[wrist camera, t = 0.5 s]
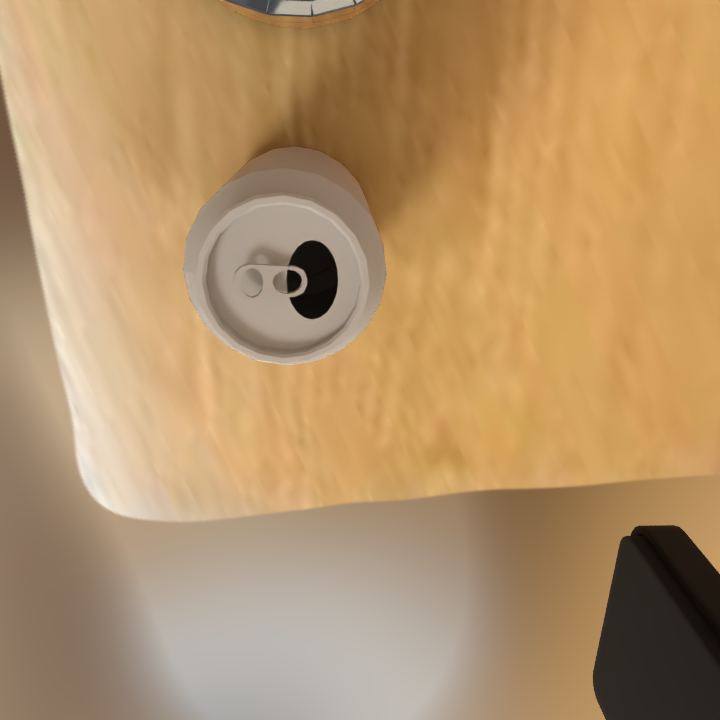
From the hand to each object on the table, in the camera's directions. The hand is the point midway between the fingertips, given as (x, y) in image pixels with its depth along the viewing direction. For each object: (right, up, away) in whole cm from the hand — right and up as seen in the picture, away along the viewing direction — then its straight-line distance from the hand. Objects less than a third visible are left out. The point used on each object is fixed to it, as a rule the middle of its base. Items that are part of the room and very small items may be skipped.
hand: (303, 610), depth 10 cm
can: (-2, +11, +25) cm, 27 cm away
